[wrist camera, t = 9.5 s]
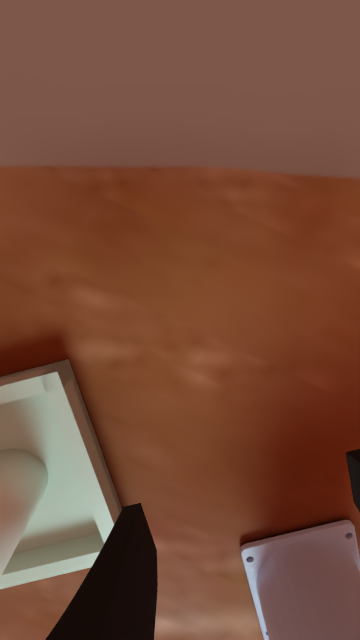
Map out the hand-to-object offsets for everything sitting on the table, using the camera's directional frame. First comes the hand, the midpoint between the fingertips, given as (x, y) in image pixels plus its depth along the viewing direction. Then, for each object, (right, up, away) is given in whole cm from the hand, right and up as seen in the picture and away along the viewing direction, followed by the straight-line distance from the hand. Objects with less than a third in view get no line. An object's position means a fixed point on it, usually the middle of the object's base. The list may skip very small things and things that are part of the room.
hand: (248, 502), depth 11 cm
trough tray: (-13, -4, +10) cm, 17 cm away
